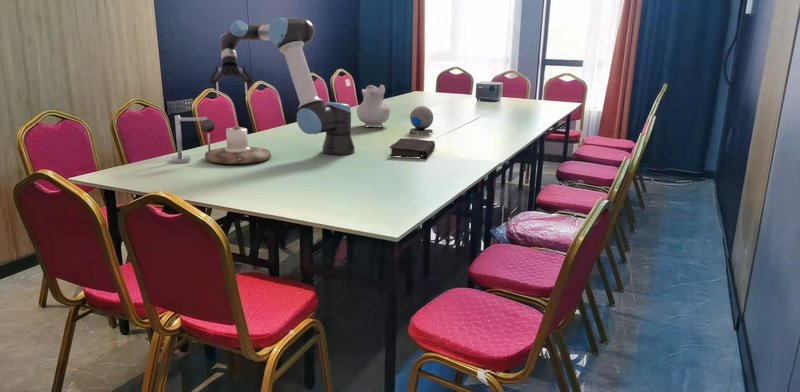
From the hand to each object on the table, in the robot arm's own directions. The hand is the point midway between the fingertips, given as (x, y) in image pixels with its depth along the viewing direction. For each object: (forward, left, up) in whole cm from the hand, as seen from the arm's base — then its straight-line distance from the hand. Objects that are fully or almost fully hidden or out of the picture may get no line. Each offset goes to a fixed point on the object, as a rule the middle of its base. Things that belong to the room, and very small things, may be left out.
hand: (232, 94), depth 286 cm
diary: (-80, +35, -25) cm, 91 cm away
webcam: (-102, -15, -24) cm, 106 cm away
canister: (0, +28, -21) cm, 35 cm away
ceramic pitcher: (-80, -38, -24) cm, 92 cm away
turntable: (0, +33, -24) cm, 41 cm away
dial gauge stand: (+18, +33, -24) cm, 45 cm away
